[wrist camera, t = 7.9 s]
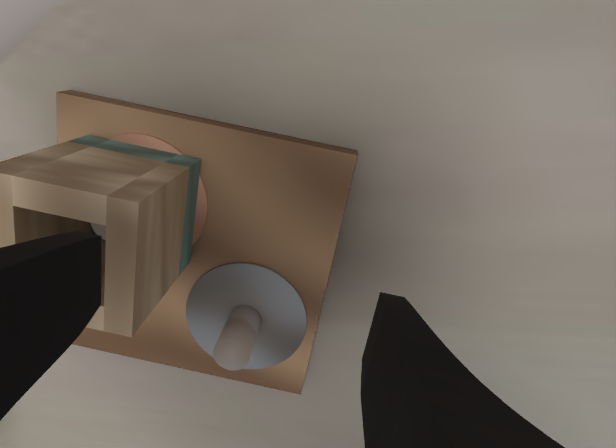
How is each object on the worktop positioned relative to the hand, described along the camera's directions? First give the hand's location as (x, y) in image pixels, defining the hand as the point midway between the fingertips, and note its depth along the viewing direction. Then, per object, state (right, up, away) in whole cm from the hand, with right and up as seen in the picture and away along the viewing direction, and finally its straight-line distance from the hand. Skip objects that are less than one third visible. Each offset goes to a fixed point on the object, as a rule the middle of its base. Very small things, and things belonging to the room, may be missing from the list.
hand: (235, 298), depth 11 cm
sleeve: (-6, +3, +9) cm, 11 cm away
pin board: (-4, +1, +11) cm, 11 cm away
